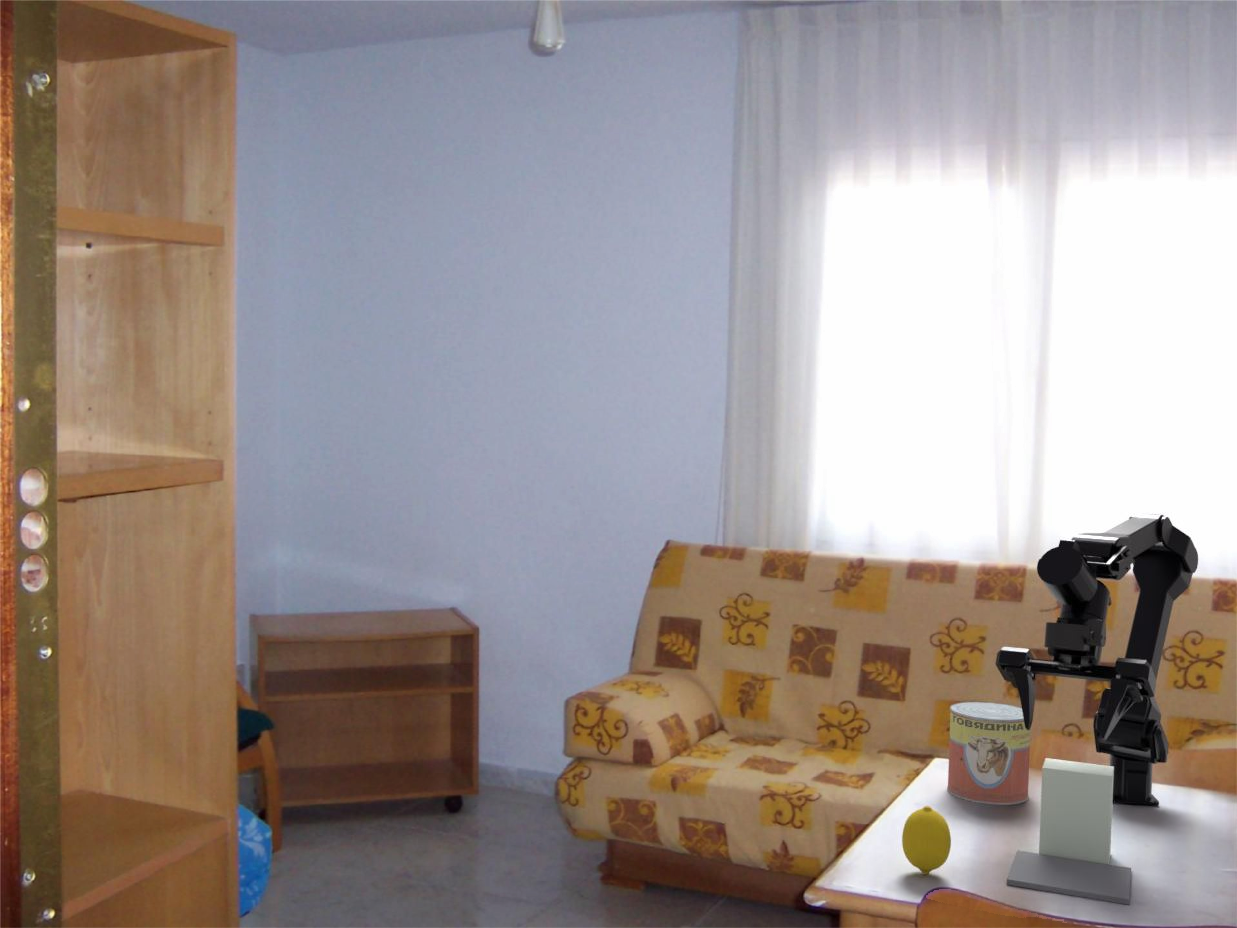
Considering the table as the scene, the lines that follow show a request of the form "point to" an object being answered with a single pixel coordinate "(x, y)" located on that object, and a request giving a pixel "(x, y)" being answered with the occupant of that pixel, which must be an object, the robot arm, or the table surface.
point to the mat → (1071, 876)
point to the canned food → (988, 753)
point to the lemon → (926, 839)
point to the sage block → (1076, 810)
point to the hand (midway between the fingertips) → (1064, 733)
